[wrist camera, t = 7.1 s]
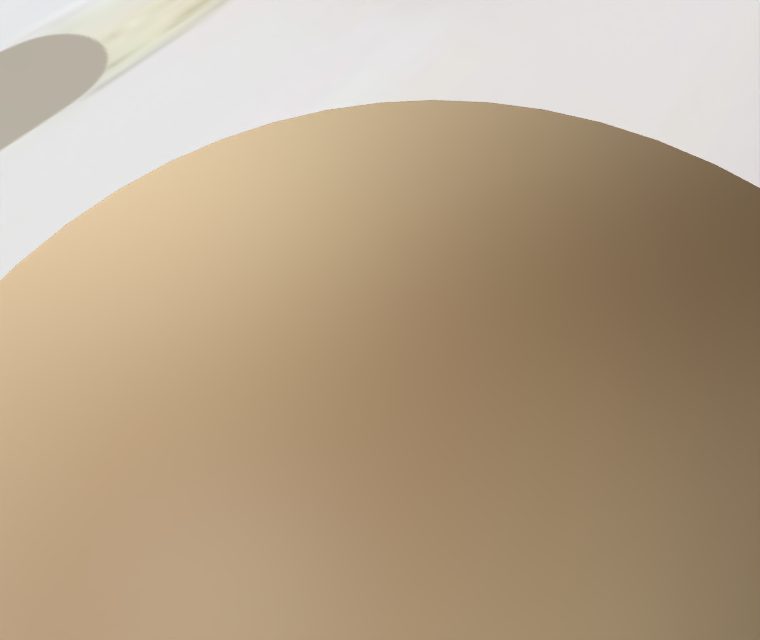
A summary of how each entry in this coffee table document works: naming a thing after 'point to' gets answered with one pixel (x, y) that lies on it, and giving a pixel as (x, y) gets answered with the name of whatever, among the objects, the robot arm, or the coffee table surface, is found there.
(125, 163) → the coffee table surface
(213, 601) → the cord spool
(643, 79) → the coffee table surface
